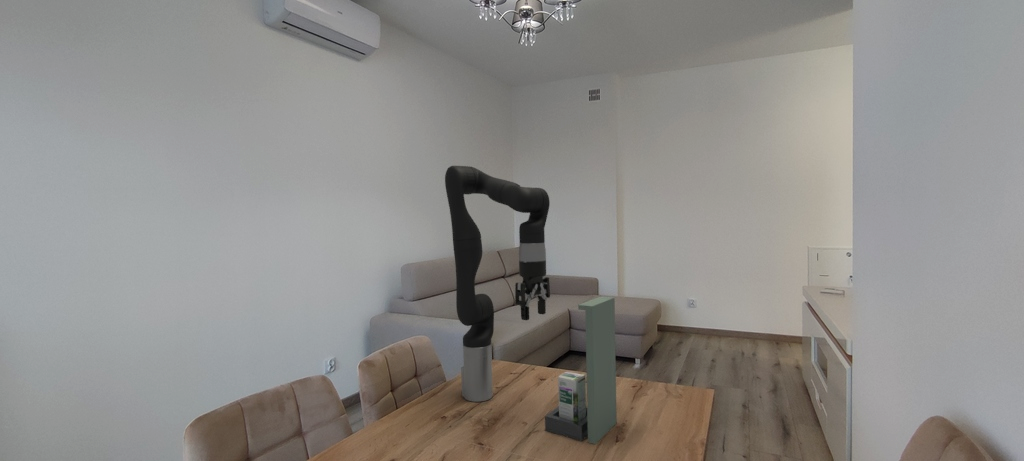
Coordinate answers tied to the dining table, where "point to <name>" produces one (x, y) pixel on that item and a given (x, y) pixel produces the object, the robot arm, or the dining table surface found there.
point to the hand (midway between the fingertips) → (533, 316)
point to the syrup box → (572, 396)
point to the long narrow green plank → (600, 366)
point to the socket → (566, 426)
